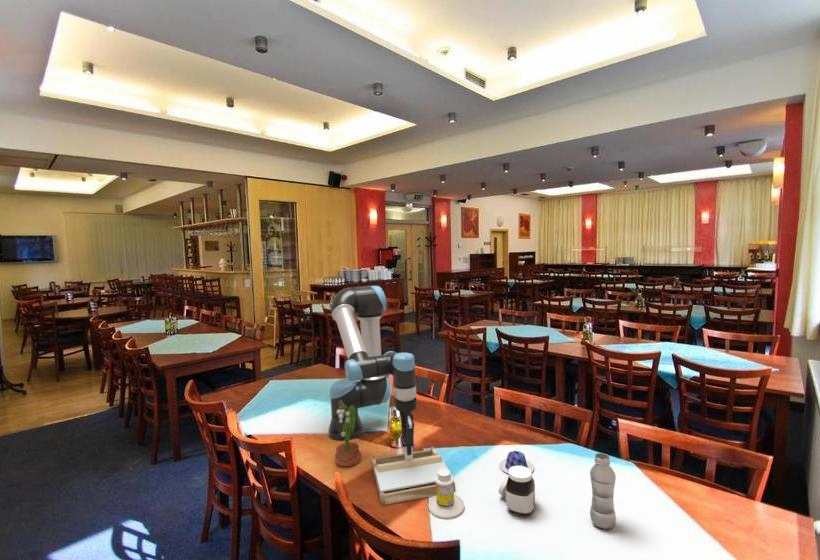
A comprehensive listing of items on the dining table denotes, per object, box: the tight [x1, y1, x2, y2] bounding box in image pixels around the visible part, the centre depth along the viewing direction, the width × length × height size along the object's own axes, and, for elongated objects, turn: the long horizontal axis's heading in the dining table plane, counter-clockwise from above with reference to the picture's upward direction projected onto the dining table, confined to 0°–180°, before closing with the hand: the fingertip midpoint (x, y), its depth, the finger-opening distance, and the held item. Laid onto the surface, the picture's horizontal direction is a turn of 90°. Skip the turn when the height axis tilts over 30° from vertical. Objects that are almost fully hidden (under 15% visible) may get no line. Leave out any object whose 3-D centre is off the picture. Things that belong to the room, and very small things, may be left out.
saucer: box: [428, 494, 465, 520], centre depth 124 cm, size 11×11×1 cm
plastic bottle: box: [589, 452, 617, 530], centre depth 113 cm, size 6×7×20 cm
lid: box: [375, 454, 454, 493], centre depth 137 cm, size 12×24×3 cm, turn 103°
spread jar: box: [498, 466, 536, 516], centre depth 124 cm, size 12×11×12 cm
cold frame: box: [370, 446, 456, 506], centre depth 142 cm, size 26×24×3 cm
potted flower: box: [334, 400, 362, 467], centre depth 153 cm, size 12×10×25 cm
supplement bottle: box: [435, 469, 455, 509], centre depth 124 cm, size 6×6×10 cm
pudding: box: [499, 450, 535, 475], centre depth 145 cm, size 12×12×5 cm
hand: (409, 461), depth 143 cm, fingers closed
